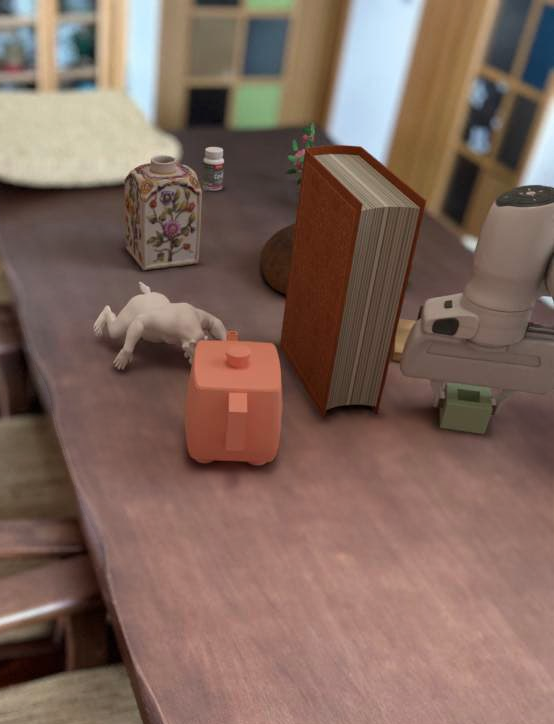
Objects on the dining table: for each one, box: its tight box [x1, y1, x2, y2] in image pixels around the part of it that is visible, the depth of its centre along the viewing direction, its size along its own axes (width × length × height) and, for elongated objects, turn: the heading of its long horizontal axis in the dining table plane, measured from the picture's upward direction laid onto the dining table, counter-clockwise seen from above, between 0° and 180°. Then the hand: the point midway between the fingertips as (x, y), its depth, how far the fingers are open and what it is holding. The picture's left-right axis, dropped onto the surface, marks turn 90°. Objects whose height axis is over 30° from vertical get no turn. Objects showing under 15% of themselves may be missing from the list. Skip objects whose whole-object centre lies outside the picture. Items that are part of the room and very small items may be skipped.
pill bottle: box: [201, 146, 225, 192], centre depth 187 cm, size 5×5×8 cm
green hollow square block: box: [439, 382, 492, 435], centre depth 116 cm, size 6×6×4 cm
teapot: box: [184, 330, 283, 466], centre depth 108 cm, size 22×13×14 cm, turn 177°
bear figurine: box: [92, 281, 228, 371], centre depth 128 cm, size 17×14×20 cm
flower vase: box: [284, 122, 324, 186], centre depth 181 cm, size 12×12×35 cm
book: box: [279, 144, 427, 420], centre depth 116 cm, size 23×8×30 cm, turn 9°
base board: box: [392, 295, 444, 362], centre depth 130 cm, size 12×12×8 cm
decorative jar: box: [124, 154, 203, 272], centre depth 154 cm, size 12×12×18 cm
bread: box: [259, 222, 414, 295], centre depth 151 cm, size 28×27×9 cm
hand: (464, 409), depth 116 cm, fingers closed on green hollow square block, 6 cm apart
